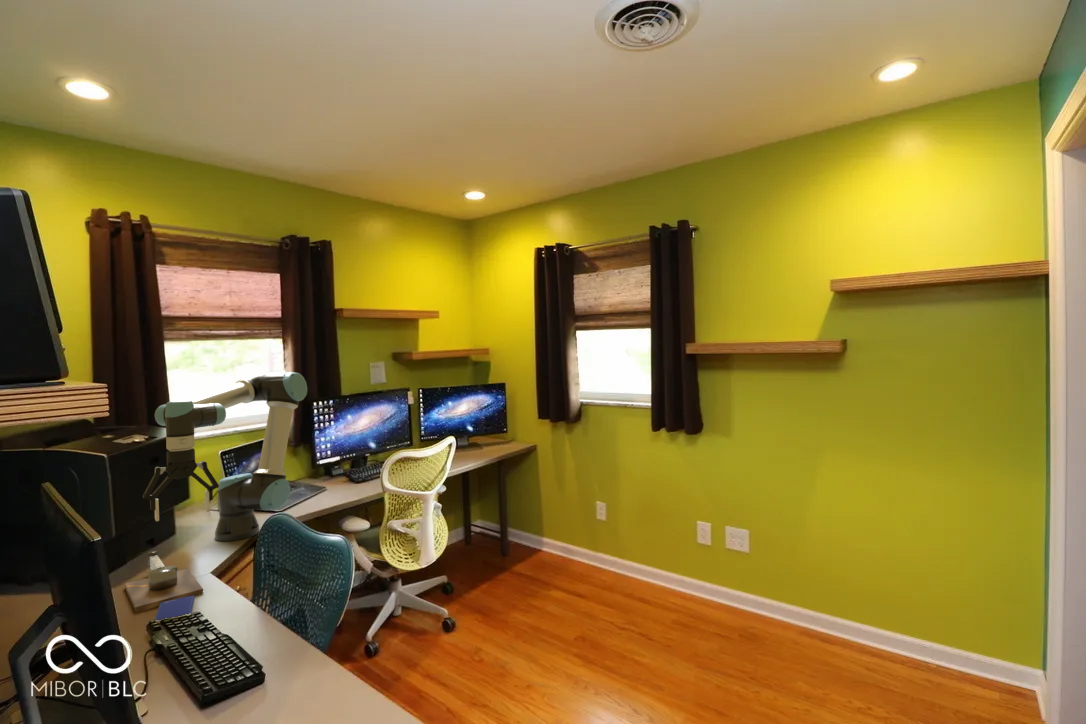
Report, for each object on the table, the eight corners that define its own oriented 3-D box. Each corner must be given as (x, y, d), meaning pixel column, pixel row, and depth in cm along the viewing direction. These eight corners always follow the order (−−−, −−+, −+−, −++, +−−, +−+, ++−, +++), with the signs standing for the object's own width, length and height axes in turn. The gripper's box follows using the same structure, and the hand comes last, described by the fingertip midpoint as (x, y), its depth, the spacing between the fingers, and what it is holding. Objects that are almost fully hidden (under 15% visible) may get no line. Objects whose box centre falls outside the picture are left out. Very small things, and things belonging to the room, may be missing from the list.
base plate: (187, 572, 176) (187, 567, 176) (203, 593, 160) (203, 588, 160) (125, 588, 165) (124, 583, 165) (135, 612, 149) (135, 606, 149)
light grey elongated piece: (179, 584, 162) (179, 567, 162) (150, 592, 157) (150, 574, 157) (165, 564, 179) (164, 548, 179) (139, 570, 174) (138, 554, 174)
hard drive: (160, 602, 153) (153, 621, 142) (194, 595, 157) (191, 612, 146) (160, 607, 153) (154, 626, 142) (194, 600, 157) (191, 618, 146)
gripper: (133, 456, 163) (135, 526, 163) (227, 445, 180) (229, 509, 180) (130, 453, 168) (132, 521, 169) (222, 443, 185) (224, 505, 186)
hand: (182, 515), depth 174 cm, fingers open, 13 cm apart
